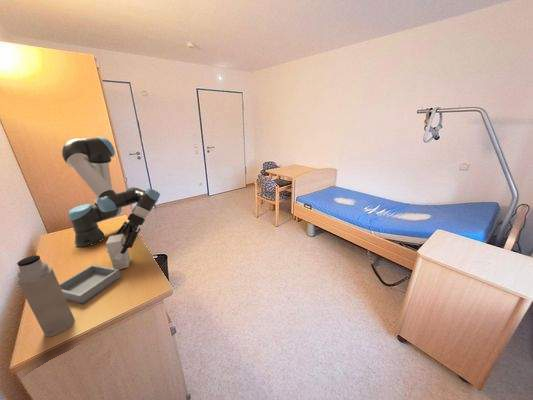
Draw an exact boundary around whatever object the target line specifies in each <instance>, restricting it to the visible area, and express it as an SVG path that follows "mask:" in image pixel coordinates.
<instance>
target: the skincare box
mask: <svg viewBox="0 0 533 400" xmlns="http://www.w3.org/2000/svg"><path fill="white" fill-rule="evenodd" d="M125 240H126V236H124V234H119V235H115V234H114V235H110V236H109V237H108V239H107V241H106V242H105V246H106V250H107V249H108V252H109V253H108V256H109V258H110V262H111V264H112V268H114V269H119V270H122V269H126V268H127V269H128V268H129V266H130V264H131V260H132V259H131V255H130V252H129V248H128V249H127V250H126V252H125V254H124V255H123V257H122V258H121V260H117V259H114V258H115V256H116V255H117V253H118V251H119V250H120V248H121V247H122V245H124V243H125Z"/></svg>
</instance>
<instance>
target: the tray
mask: <svg viewBox="0 0 533 400" xmlns="http://www.w3.org/2000/svg"><path fill="white" fill-rule="evenodd" d="M121 278H122V274H121V271H120V269H114V268H113V267H108V266H107V267H106V266H101V265H96V264H91V265H90V266H88V267H86V268H84V269H83V270H82V271H80V272H78V273H76V274H75V275H73V276H70V277H68V279H66V280H64V281H62V282H61V283H59V285H60V287H61V290H62V292H63V294H64V296H65V299H66V301H67V302H68V301H69V302H72V303H75V304H79V305H82V306H83V305H86V303H88V302H90V301H91V300H92V299H94V298H95V297H96V296H98V295H99V294H100V293H102V292H103V291H104V290H106V289H107V288H109V287H110V286H111V285H113V284H114V283H116V282H117V281H118V280H120V279H121Z"/></svg>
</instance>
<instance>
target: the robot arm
mask: <svg viewBox="0 0 533 400" xmlns="http://www.w3.org/2000/svg"><path fill="white" fill-rule="evenodd" d="M61 155H62V158H63V160H64V162H65V163H66V165H67V166H68V167H71V168H73V169H74V170H75V172H76V173H77V174H78V176H79V177H80V178H81V179H82V180H83V182H84V183H85V184H86V185H87V186H88V187H89V189H90V190H91V191H92V192H93V193H94V194H95V196H96V198H95V199H94V200H93V202H94V204H90V203H87V204H86V203H85V204H81V205H78V206H74V207H73V208H71V209H70V210H69V211H68V214H67V215H68V219H69V221H70V224H71V226H72V229H73V231H74V234H75V235H74V244H75V247H77V246H79V247H78V248H83V247H82V246H86V247H89V246H88V245H91V244H94V243H96V244H98V243H97V242H99V241H100V240H102V239H103V238H104V237H105V238H106V236H105V233H104V232H103V231H102V229H100V227H99V225H98V223H100V222H104V221H106V220H110V219H113V218H115V217H118V216H120V214H121V213H122V208H123V207H127V206H131V205H133V204H135V205H134V207H133V209H132V210H131V212H132V213H130V214H129V215H128V217H127V220H128V221H124V222H123V223H122V225H121V226H119V229H117V231H116V232H115V233H114V235H119V234H124V237H125V243H124V245H122V247H121V248H120V250H119V251H118V253H117V255H116V256H115V258H114V259H117V260H121V258H122V257H123V255H124V254H125V252H126V250H127V249H128V250H129V248H131V249H132V247H133V245H134V243H135V241H136V239H137V237H138V234H139V233H140V231H141V228H140V227H139V226H143V224H144V223H145V221H146V219H147V217H148V216H149V215H150V212H151V211H152V210H153V208H154V207H155V205H156V203H157V202H158V200H159V198H160V196H161V193H160V192H159V191H157V190H155V189H153V188H151V187H148V188H146V189H145V190H143V189H141V188H138V187H135V186H132V187H128V188H127V189H126V190H125V191H122V192H119V193H117V192H115V190H114V189H113V187H112V185H113V184H112V177H111V171H110V170H111V169H110V165H109V164H110V163H111V162H112V158H113V157H115V155H116V151H115V148H114V146H113V144H112V142H111V141H110V139H108V138H105V137H84V138H73V139H70V140H68V141H66V142H65V144H64V145H63V147H62V150H61ZM102 241H103V240H102ZM99 243H100V242H99ZM94 245H95V244H94ZM91 246H92V245H91ZM105 252H106V253H107V254H109V252H108V249H107V248H106V251H105Z"/></svg>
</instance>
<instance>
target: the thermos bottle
mask: <svg viewBox="0 0 533 400" xmlns="http://www.w3.org/2000/svg"><path fill="white" fill-rule="evenodd" d="M42 261H43V260H41V257H40V255H32V256H31V255H30V256H27V257H25V258H23V259H20V260H18V262H17V263H16V264H17V266H18V269H19V271H18V272H17V280H16V281H17V284H18V285H19V288H20V290H21V292H22V294H23V295H24V297H25V299H26V301H27V304H28V305H29V307H30V309H31V311H32V312H33V315H34V317H35V319H36V320H37V323H38V325H39V326H40V328H41V331H42V332H43V335H44V336H45V337H54V336H57V335H60V334H62V333H64V332H65V331H66V330H68V329H69V328H70V327H71V326H72V325H73V324H74V322H75V317H74V314H73V312H72V311H71V308H70V306H69V303H68V300H66V299H65V296H64V294H63V292H62V290H61V287H60V285H59V284H60V283H59V281H58V278H57V276H56V274H55V272H54V269H53V267H51V266H49V265H48V263H47V262H44V261H43V262H42Z"/></svg>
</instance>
